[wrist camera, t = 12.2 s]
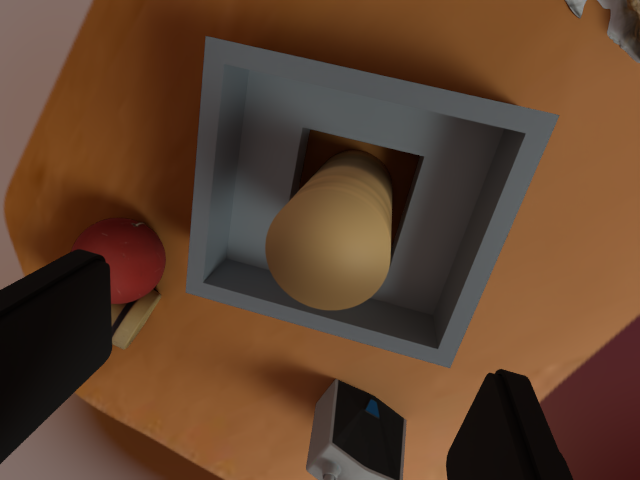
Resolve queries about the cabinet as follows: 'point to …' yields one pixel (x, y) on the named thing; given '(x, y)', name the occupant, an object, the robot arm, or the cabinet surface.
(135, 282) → the kendama
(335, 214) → the peg
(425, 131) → the peg box
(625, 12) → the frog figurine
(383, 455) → the padlock
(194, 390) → the cabinet surface
